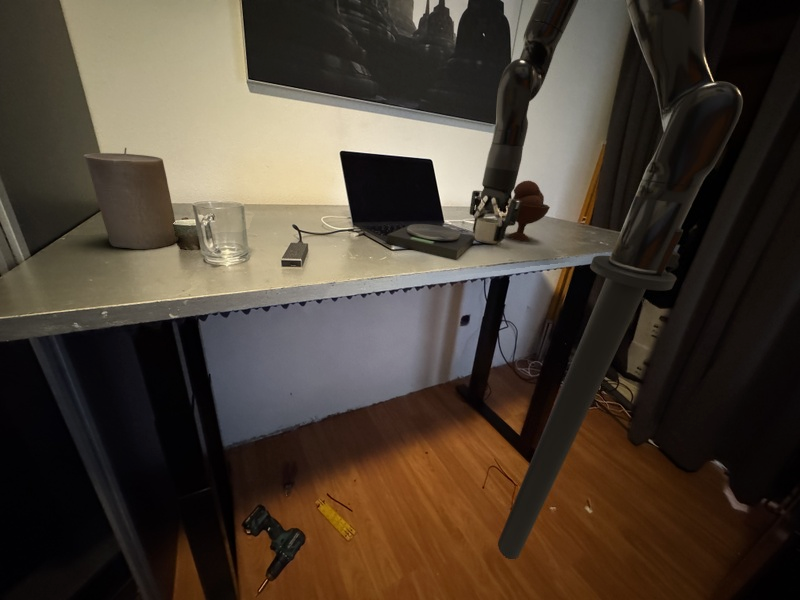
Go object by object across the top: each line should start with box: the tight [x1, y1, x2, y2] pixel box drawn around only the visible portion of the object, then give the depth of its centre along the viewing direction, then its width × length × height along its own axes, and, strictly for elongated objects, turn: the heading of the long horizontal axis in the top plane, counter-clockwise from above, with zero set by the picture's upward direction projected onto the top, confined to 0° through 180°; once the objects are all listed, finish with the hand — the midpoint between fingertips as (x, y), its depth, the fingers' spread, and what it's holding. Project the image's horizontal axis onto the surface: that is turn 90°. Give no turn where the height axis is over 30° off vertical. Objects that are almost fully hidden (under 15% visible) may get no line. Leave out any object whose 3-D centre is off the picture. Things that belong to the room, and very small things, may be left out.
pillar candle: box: [83, 147, 179, 250], centre depth 54 cm, size 10×10×15 cm
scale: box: [386, 223, 475, 260], centre depth 75 cm, size 16×15×2 cm
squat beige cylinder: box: [473, 217, 499, 245], centre depth 81 cm, size 6×6×5 cm
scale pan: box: [407, 223, 461, 241], centre depth 74 cm, size 12×12×1 cm
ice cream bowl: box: [507, 180, 551, 242], centre depth 86 cm, size 11×11×15 cm
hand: (486, 237), depth 82 cm, fingers closed on squat beige cylinder, 6 cm apart
